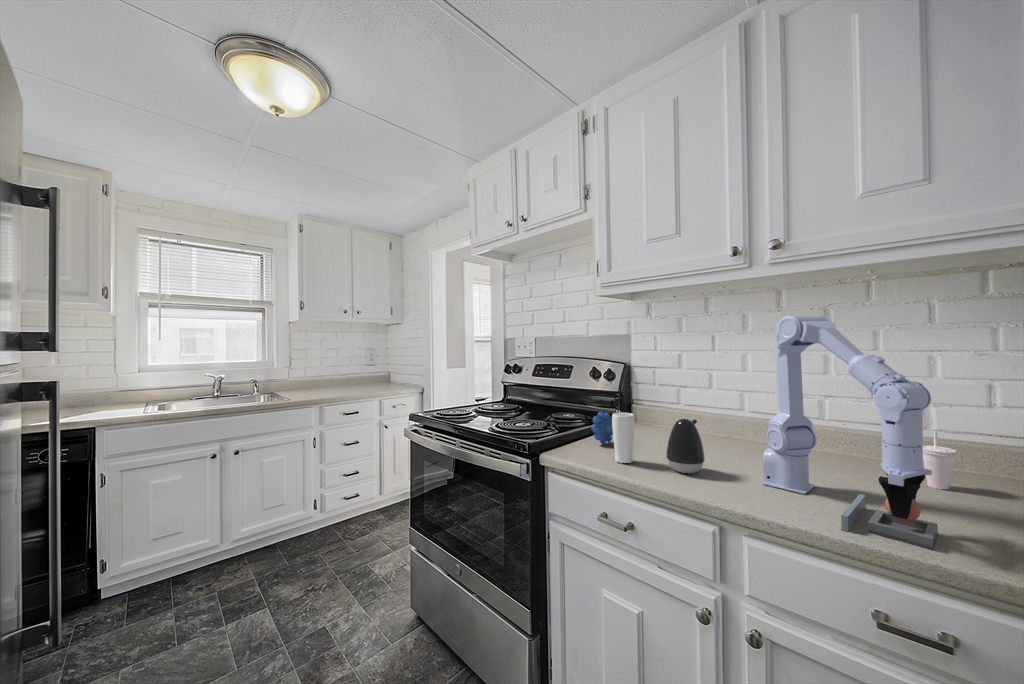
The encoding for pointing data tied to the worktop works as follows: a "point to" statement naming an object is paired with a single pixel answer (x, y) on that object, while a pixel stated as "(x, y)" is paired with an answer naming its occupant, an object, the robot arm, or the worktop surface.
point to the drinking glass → (623, 436)
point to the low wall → (853, 512)
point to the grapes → (602, 427)
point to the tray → (904, 529)
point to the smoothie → (938, 464)
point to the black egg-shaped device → (685, 447)
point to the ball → (914, 511)
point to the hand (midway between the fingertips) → (902, 512)
